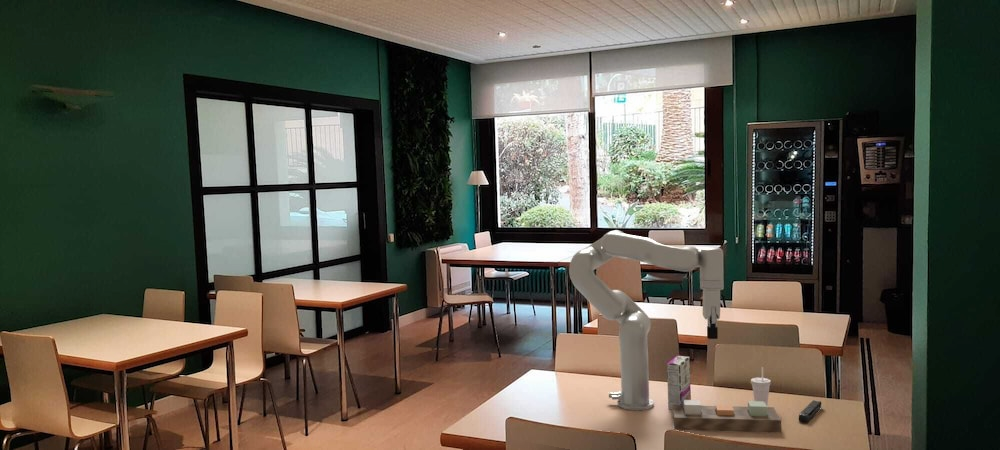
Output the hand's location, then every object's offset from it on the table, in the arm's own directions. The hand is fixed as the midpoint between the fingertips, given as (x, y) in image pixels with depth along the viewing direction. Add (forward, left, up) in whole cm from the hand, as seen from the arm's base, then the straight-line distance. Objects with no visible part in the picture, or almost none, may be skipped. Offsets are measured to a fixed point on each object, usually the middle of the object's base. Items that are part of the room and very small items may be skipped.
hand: (712, 338), depth 235 cm
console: (+2, -13, -25) cm, 28 cm away
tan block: (+2, -13, -24) cm, 27 cm away
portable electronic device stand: (+30, -2, -26) cm, 40 cm away
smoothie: (+16, +4, -25) cm, 30 cm away
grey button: (-8, -13, -22) cm, 27 cm away
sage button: (+12, -13, -22) cm, 28 cm away
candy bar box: (-11, +4, -25) cm, 28 cm away
